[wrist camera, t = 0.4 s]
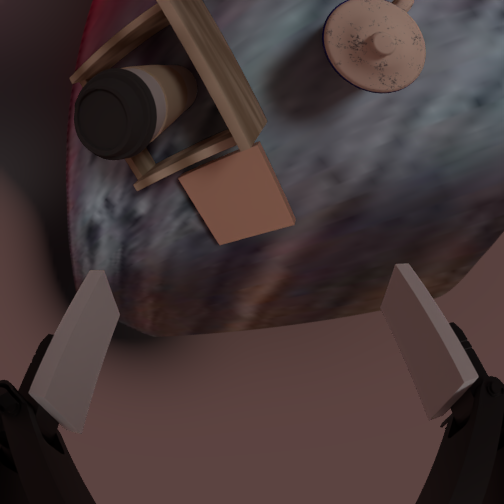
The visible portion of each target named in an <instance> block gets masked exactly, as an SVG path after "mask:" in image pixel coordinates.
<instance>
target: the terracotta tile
mask: <svg viewBox="0 0 504 504" xmlns="http://www.w3.org/2000/svg"><path fill="white" fill-rule="evenodd" d="M178 179H179V181H180V182H181V184H182V185H183V187H184V189H185V190H186V192H187V194H188V195H189V197H190V199H191V200H192V202H193V203H194V205H195V207H196V208H197V210H198V212H199V213H200V215H201V216H202V218H203V220H204V221H205V223H206V224H207V226H208V228H209V229H210V231H211V232H212V234H213V236H214V237H215V239H216V240H217V242H218V244H219V245H222V244H226V243H229V242H233V241H237V240H240V239H244V238H248V237H251V236H255V235H259V234H262V233H266V232H270V231H273V230H277V229H281V228H284V227H288V226H292V225H295V216H294V214H293V212H292V210H291V207H290V205H289V203H288V201H287V198H286V196H285V194H284V192H283V190H282V188H281V185H280V183H279V181H278V179H277V177H276V175H275V172H274V170H273V168H272V166H271V164H270V162H269V160H268V158H267V156H266V154H265V151H264V149H263V147H262V145H261V143H260V141H259V142H256V143H253V145H252V147H251V148H250V149H247V150H244V151H242V152H241V151H240V150H239V149H238V150H236V151H233V152H231V153H228V154H226V155H224V156H221V157H219V158H216V159H214V160H212V161H209V162H207V163H205V164H202V165H200V166H198V167H196V168H193V169H191V170H189V171H187V172H185V173H182V174H181V176H180V177H179V178H178Z"/></svg>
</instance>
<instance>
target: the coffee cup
mask: <svg viewBox="0 0 504 504" xmlns="http://www.w3.org/2000/svg"><path fill="white" fill-rule="evenodd" d="M196 95H197V82H196V79H195V77H194V75H193V74H192V73H191V72H190V71H189V70H188V69H187V68H185V67H183V66H180V65H143V66H131V67H124V68H111V69H107V70H104V71H102V72H100V73H98V74H97V75H95V76H94V77H93V78H92V79H90V80H89V81H88V82H87V83H86V84H85V85H84V87H83V88H82V90H81V91H80V93H79V96H78V98H77V100H76V103H75V114H74V124H75V129H76V133H77V135H78V137H79V139H80V141H81V142H82V144H83V145H84V146H85V147H86V148H87V149H88V150H90V151H91V152H92V153H94V154H95V155H97V156H99V157H101V158H104V159H108V160H120V159H126V158H131V157H133V156H136V155H138V154H139V153H140V152H142V151H143V150H144V149H145V148H146V147H147V146H148V144H149V143H150V142H152V141H153V140H154V139H155V138H157V137H158V136H159V135H160V134H161V133H162V132H163V131H164V130H165V129H166V128H167V127H168V126H170V125H171V124H172V123H173V122H174V121H175V120H176V119H177V118H178V117H179V116H180V115H181V114H182V113H183V112H184V111H186V110H187V109H188V108H189V107H190V106H191V105H192V104H193V102H194V100H195V98H196Z"/></svg>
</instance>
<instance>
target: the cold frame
mask: <svg viewBox="0 0 504 504" xmlns="http://www.w3.org/2000/svg"><path fill="white" fill-rule="evenodd" d="M156 1H157V2H158V3H157V4H155V5H154V6H152V7H151V8H150V9H148V10H147V11H145V12H144V13H143V14H141V15H140V16H139V17H137V18H136V19H135V20H133V21H132V22H131V23H129V24H128V25H127V26H126V27H124V28H123V29H122V30H121V31H119V32H118V33H117V34H116V35H115V36H113V37H112V38H111V39H110V40H109V41H108V42H106V43H105V44H104V45H103V46H102V47H101V48H100V49H99V50H97V51H96V52H95V53H94V54H93V55H92V56H91V57H90V58H89V59H88V60H87V61H86V62H85V63H84V64H83V65H82V66H81V67H80V68H79V69H78V70H77V71H76V72H75V73H74V74H73V75H72V76H71V77H70V80H71V82H72V84H74V83H77V82H80V84H81V85H82V87H84V85H85V84H86V83H87V82H88V81H89V80H90V79H92V78H93V77H94V76H95V75H97V74H98V73H100V72H102V71H104V70H107V69H110V68H111V67H112V66H114V65H115V64H116V63H117V62H118V61H120V60H121V59H122V58H123V57H125V56H126V55H127V54H129V53H130V52H131V51H132V50H134V49H135V48H136V47H138V46H139V45H140V44H142V43H143V42H145V41H146V40H147V39H149V38H150V37H152V36H153V35H155V34H156V33H158V32H159V31H160V30H162V29H164V28H165V27H167V26H168V25H170V24H171V26H172V28H173V29H174V31H175V33H176V34H177V36H178V38H179V40H180V41H181V43H182V45H183V47H184V48H185V50H186V52H187V54H188V55H189V57H190V59H191V61H192V62H193V64H194V66H195V68H196V70H197V71H198V73H199V75H200V77H201V79H202V80H203V82H204V84H205V86H206V88H207V89H208V91H209V93H210V95H211V97H212V99H213V100H214V102H215V104H216V106H217V108H218V110H219V112H220V113H221V115H222V117H223V119H224V121H225V123H226V125H227V127H228V128H229V129H227V130H225V131H222V132H220V133H218V134H216V135H213V136H211V137H209V138H207V139H205V140H203V141H201V142H198V143H196V144H194V145H192V146H190V147H188V148H186V149H184V150H182V151H180V152H178V153H176V154H174V155H172V156H170V157H168V158H166V159H165V160H163V161H161V162H159V163H157V164H156V163H155V162H154V160H153V158H152V157H151V155H150V153H149V152H148V150H147V148H145V149H144V150H143V151H142V152H140V153H139V154H138V155H136V156H133V157H131V158H126V159H125V160H126V162H127V163H128V165H129V166H130V168H131V170H132V171H133V173H134V174H135V176H136V177H137V179H138V181H137V182H136V183H135V184H134V185H133V186H134V187H135V189H136V190H137V191H139V190H141V189H143V188H145V187H146V186H148V185H150V184H152V183H154V182H156V181H158V180H160V179H162V178H164V177H166V176H168V175H171V174H173V173H175V172H177V171H179V170H181V169H183V168H185V167H187V166H190V165H192V164H194V163H196V162H198V161H201V160H203V159H205V158H207V157H210V156H212V155H214V154H217V153H219V152H221V151H224V150H226V149H228V148H231V147H233V146H236V145H237V146H238V148H239V150H240V151H241V152H242V151H244V150H247V149H250V148H251V147H252V145H253V143H254V142H255V140H256V139H257V137H258V135H259V134H260V132H261V131H262V129H263V128H264V126H265V124H266V123H267V119H266V117H265V115H264V113H263V111H262V109H261V107H260V105H259V103H258V101H257V99H256V97H255V95H254V93H253V91H252V89H251V87H250V85H249V83H248V81H247V79H246V77H245V76H244V74H243V72H242V70H241V68H240V66H239V64H238V62H237V60H236V59H235V57H234V55H233V53H232V51H231V49H230V48H229V46H228V44H227V42H226V40H225V39H224V37H223V35H222V33H221V32H220V30H219V28H218V26H217V25H216V23H215V21H214V19H213V18H212V16H211V14H210V13H209V11H208V9H207V8H206V6H205V4H204V3H203V1H202V0H156Z"/></svg>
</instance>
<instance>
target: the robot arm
mask: <svg viewBox="0 0 504 504" xmlns="http://www.w3.org/2000/svg"><path fill="white" fill-rule="evenodd" d="M380 309H381V311H382V313H383V315H384V317H385V319H386V321H387V323H388V325H389V327H390V329H391V331H392V334H393V336H394V338H395V340H396V342H397V345H398V347H399V349H400V351H401V353H402V355H403V358H404V360H405V363H406V364H407V367H408V370H409V372H410V374H411V377H412V379H413V382H414V384H415V386H416V389H417V391H418V394H419V396H420V399H421V401H422V404H423V407H424V409H425V412H426V415H427V417H428V420H432V419H434V418H437V417H440V416H443V415H444V414H445V413H446V412H447V411H448V410H449V409H450V408H451V410H452V414H451V415H450V416H449V417H448V418H447V419H446V420H445V421H444V422H443V423H442V424H441V426H440V427H443V426H444V425H445V424H447V423H448V424H447V427H446V428H445V429H446V430H445V433H444V436H443V439H442V442H441V445H440V448H439V450H438V453H437V456H436V459H435V461H434V464H433V466H432V469H431V471H430V474H429V476H428V478H427V480H426V483H425V485H424V487H423V489H422V491H421V494H420V496H419V498H418V500H417V502H416V504H504V384H503V383H502V382H501V381H500V380H499V379H498V378H496V377H492V376H490V377H489V376H488V375H487V373H486V371H485V369H484V368H483V366H482V364H481V362H480V360H479V358H478V357H477V355H476V353H475V351H474V350H473V349H472V346H471V344H470V343H469V341H467V338H466V336H465V335H464V333H463V331H462V330H461V329H460V328H459V327H458V326H457V325H456V324H455V323H448V322H447V320H446V318H445V317H444V315H443V313H442V312H441V310H440V309H439V307H438V306H437V304H436V303H435V301H434V299H433V298H432V296H431V295H430V293H429V292H428V290H427V289H426V288H425V286H424V285H423V283H422V282H421V280H420V279H419V277H418V276H417V275H416V273H415V272H414V270H413V269H412V268H411V266H410V265H409V264H395V266H394V270H393V273H392V276H391V279H390V282H389V285H388V288H387V291H386V294H385V296H384V299H383V302H382V305H381V307H380ZM119 316H120V313H119V311H118V308H117V305H116V303H115V300H114V297H113V295H112V292H111V289H110V286H109V283H108V280H107V277H106V274H105V271H104V270H90V271H89V273H88V275H87V276H86V278H85V280H84V281H83V283H82V285H81V286H80V288H79V290H78V292H77V293H76V295H75V297H74V299H73V301H72V302H71V304H70V306H69V308H68V309H67V311H66V313H65V315H64V317H63V319H62V321H61V323H60V325H59V326H58V328H57V330H56V333H55V334H54V335H51V334H48V335H47V336H46V337H45V338H44V339H43V341H42V342H41V343H40V345H39V347H38V349H37V351H36V355H34V357H33V359H32V363H30V366H29V368H28V370H27V372H26V374H25V377H24V379H23V381H22V384H21V386H20V388H19V391H17V390H16V388H15V387H14V386H13V385H12V384H11V383H10V382H9V381H7V380H1V381H0V504H96V503H95V501H94V499H93V498H92V496H91V495H90V492H89V491H88V489H87V487H86V485H85V484H84V482H83V480H82V478H81V476H80V474H79V472H78V470H77V469H76V466H75V464H74V463H73V460H72V458H71V456H70V454H69V452H68V450H67V448H66V445H65V443H64V441H63V438H62V436H61V434H60V432H59V431H58V429H57V428H58V424H60V425H61V426H63V427H64V428H65V429H66V430H69V431H73V432H77V433H80V434H82V431H83V427H84V423H85V420H86V416H87V412H88V409H89V405H90V402H91V398H92V395H93V392H94V388H95V385H96V382H97V379H98V375H99V372H100V369H101V366H102V363H103V360H104V357H105V354H106V351H107V348H108V346H109V343H110V340H111V337H112V335H113V332H114V329H115V327H116V324H117V321H118V319H119Z"/></svg>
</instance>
